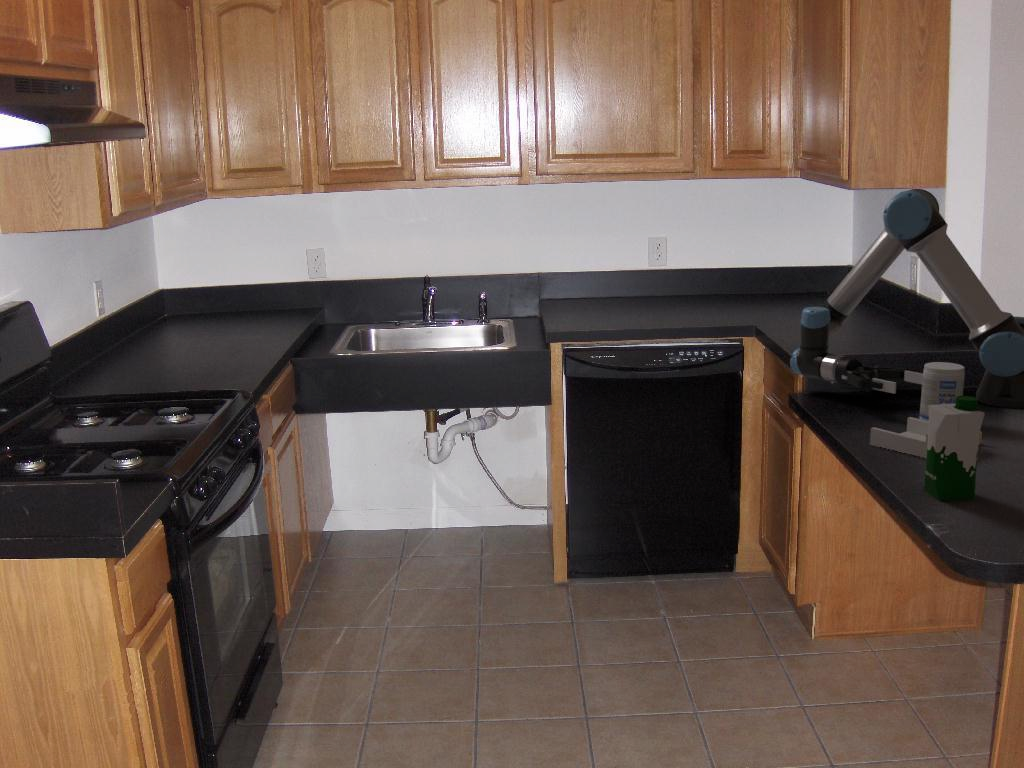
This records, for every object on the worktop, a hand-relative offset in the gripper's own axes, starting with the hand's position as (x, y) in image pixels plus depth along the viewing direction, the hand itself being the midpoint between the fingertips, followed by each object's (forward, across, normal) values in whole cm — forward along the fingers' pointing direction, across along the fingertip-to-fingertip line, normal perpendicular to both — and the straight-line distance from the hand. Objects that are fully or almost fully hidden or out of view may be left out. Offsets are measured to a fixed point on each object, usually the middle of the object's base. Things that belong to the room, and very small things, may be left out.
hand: (911, 384), depth 264 cm
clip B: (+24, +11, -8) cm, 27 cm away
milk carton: (+40, +45, -9) cm, 61 cm away
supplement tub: (+8, 0, -9) cm, 12 cm away
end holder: (+17, +21, -8) cm, 28 cm away
